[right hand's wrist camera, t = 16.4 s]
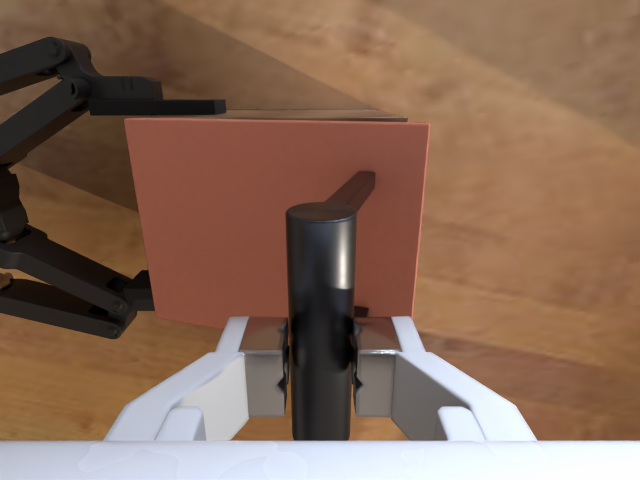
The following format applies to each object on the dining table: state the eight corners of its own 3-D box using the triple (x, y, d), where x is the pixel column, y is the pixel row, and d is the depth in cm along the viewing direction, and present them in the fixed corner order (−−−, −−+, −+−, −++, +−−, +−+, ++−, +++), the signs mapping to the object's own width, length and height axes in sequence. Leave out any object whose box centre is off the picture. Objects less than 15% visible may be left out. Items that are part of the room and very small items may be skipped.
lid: (430, 122, 15) (418, 149, 8) (410, 348, 18) (387, 518, 11) (138, 117, 18) (-65, 132, 11) (167, 308, 22) (28, 417, 15)
